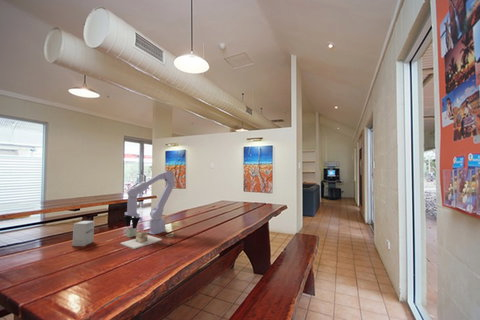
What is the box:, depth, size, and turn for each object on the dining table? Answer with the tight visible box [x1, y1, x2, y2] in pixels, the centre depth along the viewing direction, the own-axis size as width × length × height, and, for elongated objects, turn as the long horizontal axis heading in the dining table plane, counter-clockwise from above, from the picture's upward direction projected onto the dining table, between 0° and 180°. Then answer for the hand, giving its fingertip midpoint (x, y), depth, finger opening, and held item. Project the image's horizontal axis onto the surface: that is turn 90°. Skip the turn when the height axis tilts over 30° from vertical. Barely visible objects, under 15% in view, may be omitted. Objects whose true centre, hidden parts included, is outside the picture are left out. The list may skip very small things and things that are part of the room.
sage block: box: [125, 227, 138, 238], centre depth 138 cm, size 4×4×5 cm
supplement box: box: [71, 220, 95, 247], centre depth 122 cm, size 7×7×13 cm
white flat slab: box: [119, 234, 163, 250], centre depth 126 cm, size 18×14×1 cm
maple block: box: [135, 230, 149, 243], centre depth 126 cm, size 4×4×5 cm
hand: (131, 227), depth 138 cm, fingers open, 7 cm apart
